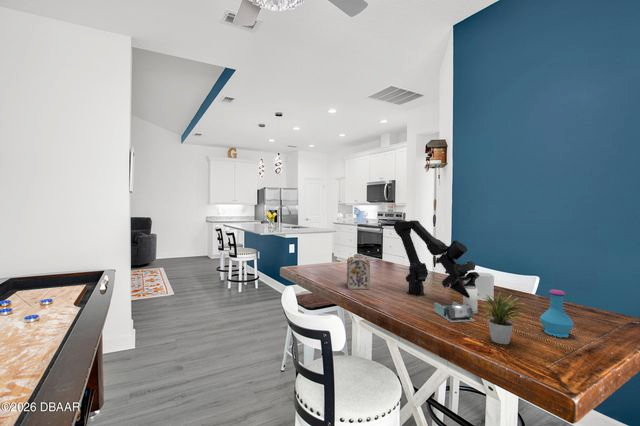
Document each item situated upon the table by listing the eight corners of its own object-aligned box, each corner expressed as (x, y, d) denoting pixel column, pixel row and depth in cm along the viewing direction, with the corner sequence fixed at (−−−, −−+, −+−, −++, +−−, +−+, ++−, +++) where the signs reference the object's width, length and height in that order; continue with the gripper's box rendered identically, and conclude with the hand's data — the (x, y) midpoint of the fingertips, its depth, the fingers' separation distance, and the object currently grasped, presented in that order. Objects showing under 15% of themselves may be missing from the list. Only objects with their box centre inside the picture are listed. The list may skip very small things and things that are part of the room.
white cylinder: (460, 311, 126) (460, 286, 126) (465, 308, 130) (466, 284, 130) (474, 314, 122) (475, 289, 121) (479, 311, 125) (480, 286, 125)
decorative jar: (370, 289, 158) (370, 256, 158) (348, 289, 158) (348, 255, 158) (366, 284, 170) (367, 252, 170) (346, 283, 170) (347, 252, 170)
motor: (432, 310, 126) (433, 297, 126) (453, 309, 128) (453, 296, 128) (451, 322, 113) (452, 307, 113) (474, 321, 115) (474, 306, 114)
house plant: (505, 355, 87) (506, 300, 87) (465, 337, 100) (466, 288, 100) (535, 347, 93) (536, 295, 93) (494, 330, 106) (495, 284, 106)
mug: (472, 300, 140) (472, 275, 140) (464, 295, 149) (464, 271, 149) (497, 301, 140) (498, 276, 140) (488, 296, 148) (488, 272, 148)
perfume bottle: (575, 341, 98) (577, 296, 97) (541, 335, 102) (542, 291, 102) (570, 332, 105) (571, 289, 105) (538, 326, 110) (539, 286, 110)
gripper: (448, 256, 124) (472, 289, 115) (475, 253, 133) (500, 283, 124) (432, 271, 131) (454, 303, 122) (459, 268, 140) (481, 297, 131)
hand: (473, 296), depth 124 cm, fingers closed on white cylinder, 5 cm apart
